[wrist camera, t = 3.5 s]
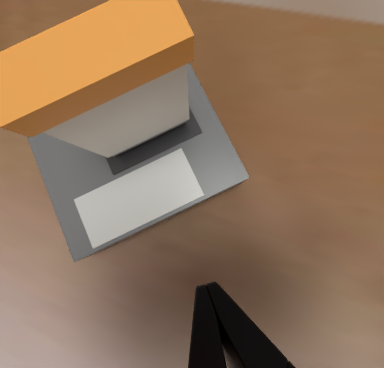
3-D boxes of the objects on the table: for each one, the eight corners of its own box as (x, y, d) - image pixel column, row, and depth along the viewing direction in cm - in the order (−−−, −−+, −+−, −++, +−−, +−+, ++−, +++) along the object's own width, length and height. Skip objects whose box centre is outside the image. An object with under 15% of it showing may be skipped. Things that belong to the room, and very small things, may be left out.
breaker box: (240, 183, 21) (250, 176, 17) (98, 252, 21) (71, 263, 17) (190, 85, 23) (187, 57, 19) (57, 148, 23) (23, 134, 18)
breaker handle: (193, 126, 18) (194, 35, 7) (114, 164, 18) (-1, 127, 7) (181, 101, 18) (164, -26, 7) (102, 139, 18) (-29, 65, 7)
